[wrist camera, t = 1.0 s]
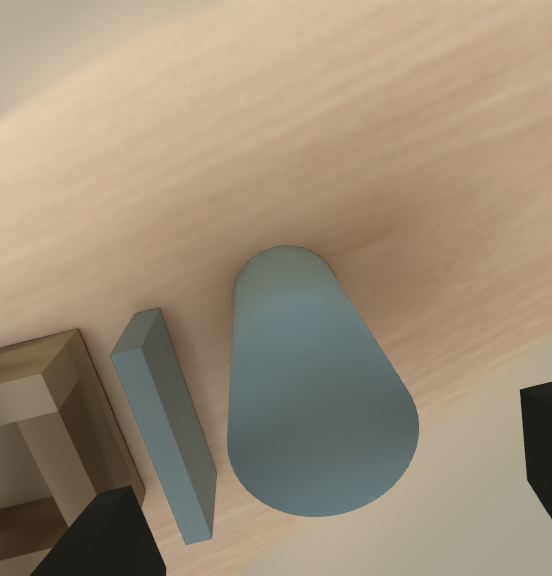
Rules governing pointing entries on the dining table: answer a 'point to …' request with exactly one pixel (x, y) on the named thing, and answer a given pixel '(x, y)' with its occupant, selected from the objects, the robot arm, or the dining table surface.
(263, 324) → the dowel
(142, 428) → the backstop wall
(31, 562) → the frame
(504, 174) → the dining table surface
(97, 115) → the dining table surface
